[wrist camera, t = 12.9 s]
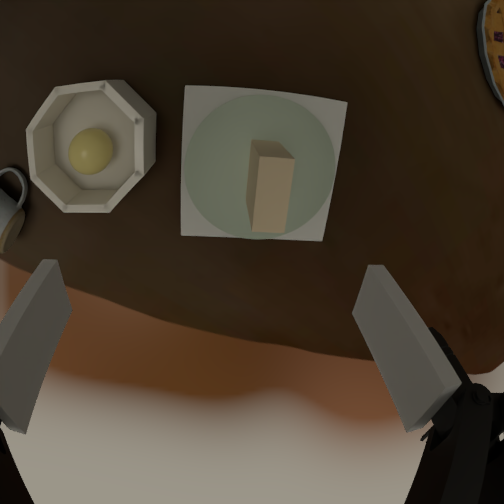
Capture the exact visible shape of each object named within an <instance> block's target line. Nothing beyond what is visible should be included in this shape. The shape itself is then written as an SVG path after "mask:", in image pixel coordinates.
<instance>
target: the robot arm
mask: <svg viewBox="0 0 504 504" xmlns="http://www.w3.org/2000/svg"><path fill="white" fill-rule="evenodd" d="M71 312H72V308H71V304H70V301H69V298H68V295H67V292H66V289H65V285H64V282H63V278H62V275H61V271H60V268H59V264H58V260H50V259H43V260H42V261H41V263H40V264H39V266H38V267H37V268H36V270H35V271H34V273H33V274H32V275H31V277H30V278H29V280H28V281H27V283H26V284H25V286H24V287H23V289H22V290H21V291H20V293H19V295H18V296H17V298H16V299H15V301H14V302H13V304H12V306H11V307H10V309H9V310H8V312H7V313H6V315H5V317H4V318H3V320H2V322H1V324H0V425H1V422H3V423H4V424H5V425H6V426H7V427H8V428H9V429H10V430H13V431H17V432H19V433H22V434H26V432H27V428H28V425H29V421H30V418H31V415H32V412H33V409H34V406H35V403H36V400H37V397H38V394H39V391H40V388H41V385H42V382H43V380H44V377H45V374H46V372H47V369H48V367H49V364H50V361H51V359H52V356H53V354H54V351H55V349H56V346H57V344H58V342H59V339H60V337H61V335H62V332H63V330H64V328H65V325H66V323H67V321H68V319H69V317H70V314H71ZM352 314H353V316H354V318H355V320H356V322H357V324H358V326H359V328H360V330H361V332H362V335H363V337H364V339H365V341H366V343H367V345H368V347H369V349H370V351H371V353H372V355H373V358H374V360H375V362H376V364H377V366H378V368H379V371H380V373H381V375H382V377H383V379H384V381H385V384H386V386H387V388H388V390H389V393H390V395H391V397H392V399H393V402H394V404H395V406H396V409H397V411H398V413H399V415H400V418H401V420H402V423H403V425H404V427H405V430H406V432H410V431H414V430H417V429H420V428H423V427H424V426H425V425H426V424H427V423H428V422H429V421H430V420H432V422H433V424H434V425H433V426H432V427H431V428H430V429H429V430H428V431H427V432H426V433H425V434H424V435H423V436H422V438H421V441H423V440H424V439H425V438H426V437H427V436H428V439H427V441H426V445H425V449H424V452H423V455H422V458H421V461H420V464H419V467H418V470H417V473H416V475H415V478H414V481H413V483H412V486H411V488H410V491H409V493H408V496H407V498H406V501H405V503H404V504H504V439H503V440H502V441H500V440H499V435H500V434H501V433H503V432H504V392H503V393H491V392H490V391H489V390H488V389H487V388H486V387H485V386H483V385H481V384H477V383H474V384H473V383H472V382H471V381H470V379H469V377H468V375H467V374H466V372H465V370H464V369H463V367H462V366H461V364H460V362H459V361H458V359H457V358H456V356H455V355H453V351H452V350H451V348H450V347H448V344H447V342H446V341H445V339H444V338H443V336H442V335H441V334H440V333H439V332H437V331H436V330H435V329H434V328H433V327H430V328H427V326H426V325H425V323H424V322H423V320H422V319H421V317H420V316H419V314H418V313H417V311H416V310H415V308H414V307H413V306H412V304H411V303H410V301H409V300H408V298H407V297H406V296H405V294H404V293H403V291H402V290H401V289H400V287H399V286H398V284H397V283H396V282H395V280H394V279H393V278H392V276H391V275H390V273H389V272H388V271H387V269H386V268H385V267H384V265H368V268H367V271H366V274H365V277H364V280H363V283H362V286H361V289H360V292H359V295H358V298H357V301H356V304H355V307H354V309H353V312H352ZM0 504H34V502H33V500H32V498H31V496H30V494H29V492H28V490H27V488H26V486H25V484H24V482H23V480H22V478H21V476H20V473H19V471H18V469H17V466H16V464H15V462H14V459H13V457H12V454H11V452H10V449H9V447H8V444H7V441H6V439H5V436H4V433H3V431H2V430H1V428H0Z"/></svg>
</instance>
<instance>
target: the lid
mask: <svg viewBox="0 0 504 504" xmlns="http://www.w3.org/2000/svg"><path fill="white" fill-rule="evenodd" d="M184 175H185V182H186V187H187V190H188V193H189V196H190V198H191V200H192V202H193V204H194V205H195V207H196V208H197V210H198V211H199V212H200V213H201V215H202V216H203V217H204V218H205V219H206V220H207V221H209V222H210V223H211V224H212V225H214V226H215V227H217V228H218V229H220V230H222V231H224V232H226V233H228V234H231V235H234V236H237V237H241V238H247V239H268V238H274V237H278V236H282V235H285V234H287V233H290V232H292V231H294V230H296V229H298V228H299V227H301V226H302V225H304V224H305V223H307V222H308V221H309V220H310V219H311V218H313V217H314V216H315V214H316V213H317V212H318V211H319V210H320V209H321V207H322V206H323V204H324V203H325V201H326V199H327V198H328V196H329V193H330V191H331V188H332V185H333V181H334V177H335V154H334V149H333V146H332V142H331V140H330V138H329V135H328V133H327V131H326V130H325V128H324V127H323V125H322V124H321V123H320V121H319V120H318V119H317V118H316V117H315V116H314V115H313V114H312V113H311V112H309V111H308V110H307V109H305V108H304V107H302V106H301V105H299V104H297V103H295V102H293V101H291V100H288V99H285V98H281V97H277V96H272V95H249V96H244V97H240V98H236V99H234V100H231V101H229V102H227V103H225V104H223V105H221V106H219V107H218V108H217V109H215V110H214V111H213V112H211V113H210V114H209V115H208V116H207V117H206V118H205V119H204V120H203V121H202V122H201V124H200V125H199V126H198V128H197V129H196V131H195V133H194V134H193V136H192V138H191V140H190V143H189V145H188V148H187V152H186V156H185V164H184Z"/></svg>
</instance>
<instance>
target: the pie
mask: <svg viewBox="0 0 504 504" xmlns="http://www.w3.org/2000/svg"><path fill="white" fill-rule="evenodd" d="M476 30H477V38H478V47H479V55H480V58H481V62H482V65H483V68H484V72H485V75H486V79H487V81H488V83H489V85H490V87H491V89H492V91H493V93H494V95H495V97H497V98H498V99H499V100H500V101H501V102H502V103H503V105H504V0H488V1H487V2H486V3H485V4H484V8H483V9H482V10H481V11H480V12H479V14H478V22H477V29H476ZM487 54H488V55H487Z"/></svg>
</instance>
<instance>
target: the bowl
mask: <svg viewBox="0 0 504 504" xmlns="http://www.w3.org/2000/svg"><path fill="white" fill-rule="evenodd" d="M156 114H157V113H156V112H155V111H154V110H153V109H152V108H151V107H150V106H149V105H148V104H147V103H146V102H145V101H144V100H143V99H142V98H141V97H140V96H139V95H138V94H137V93H136V92H135V91H134V90H133V89H132V88H131V87H130V86H129V85H128V84H127V83H126V82H125V81H124V80H104V81H95V82H87V83H79V84H72V85H66V86H58V87H55V88H54V89H53V91H52V92H51V94H50V95H49V96H48V98H47V99H46V100H45V102H44V103H43V105H42V106H41V107H40V109H39V110H38V112H37V113H36V115H35V116H34V118H33V119H32V121H31V122H30V124H29V125H28V127H27V129H26V138H27V151H28V161H29V170H30V178H31V180H32V181H33V182H34V183H35V184H36V185H37V186H38V187H39V188H40V190H41V191H42V192H43V193H44V194H45V195H46V196H47V197H48V198H49V199H51V200H52V201H53V202H54V203H55V204H56V205H57V206H58V207H59V208H60V209H61V210H62V211H63V213H70V212H81V213H110V212H111V211H112V209H113V208H114V207H115V206H116V205H117V204H118V203H119V201H120V200H121V199H122V198H123V197H124V196H125V195H126V194H127V193H128V192H129V191H130V190H131V189H132V188H133V186H134V185H135V184H136V183H137V182H138V181H139V180H140V179H141V178H142V177H143V176H145V174H146V173H147V172H148V170H149V169H150V168H151V167H152V165H153V164H154V163H155V162H156Z"/></svg>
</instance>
